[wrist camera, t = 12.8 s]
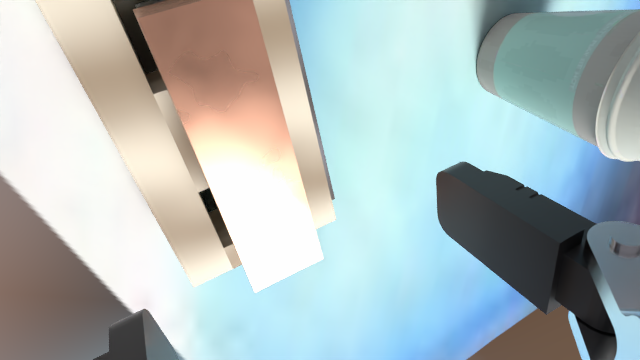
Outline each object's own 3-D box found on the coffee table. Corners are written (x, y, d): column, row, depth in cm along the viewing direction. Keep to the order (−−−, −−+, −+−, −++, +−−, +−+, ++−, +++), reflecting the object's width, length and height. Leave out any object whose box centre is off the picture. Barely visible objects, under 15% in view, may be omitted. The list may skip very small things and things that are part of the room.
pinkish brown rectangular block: (126, -1, 19) (137, 18, 12) (199, -21, 19) (249, -14, 13) (214, 203, 25) (254, 292, 18) (266, 181, 26) (323, 258, 19)
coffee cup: (556, 62, 33) (741, 102, 23) (479, 131, 32) (636, 200, 23) (536, -36, 28) (764, -36, 18) (445, 44, 27) (628, 87, 18)
